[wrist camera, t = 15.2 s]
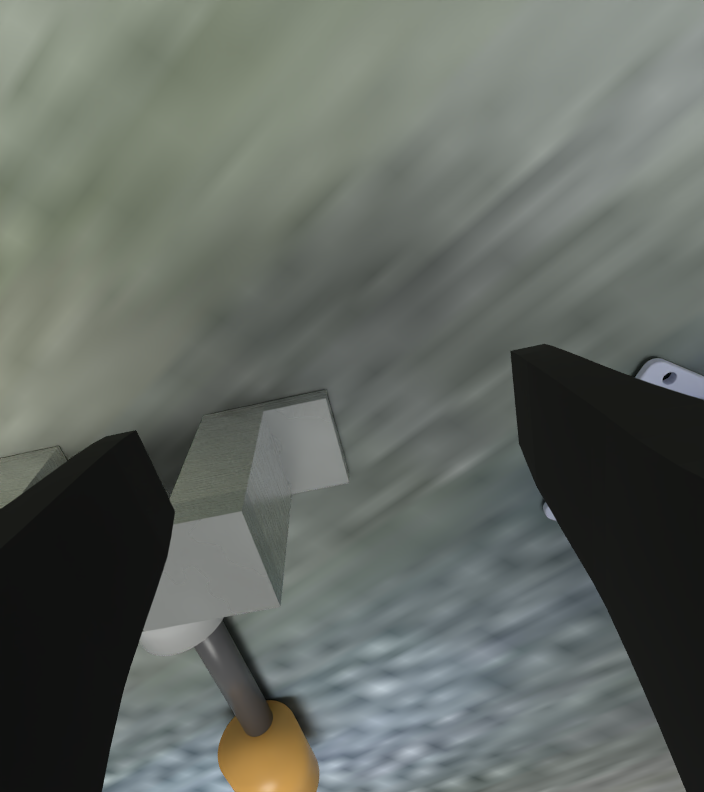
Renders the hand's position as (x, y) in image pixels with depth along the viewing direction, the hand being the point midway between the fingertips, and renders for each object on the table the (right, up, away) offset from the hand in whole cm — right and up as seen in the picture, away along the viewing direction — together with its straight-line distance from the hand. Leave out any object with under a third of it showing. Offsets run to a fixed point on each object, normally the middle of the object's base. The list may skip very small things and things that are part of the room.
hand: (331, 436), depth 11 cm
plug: (-6, -12, +18) cm, 22 cm away
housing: (-8, -2, +12) cm, 15 cm away
